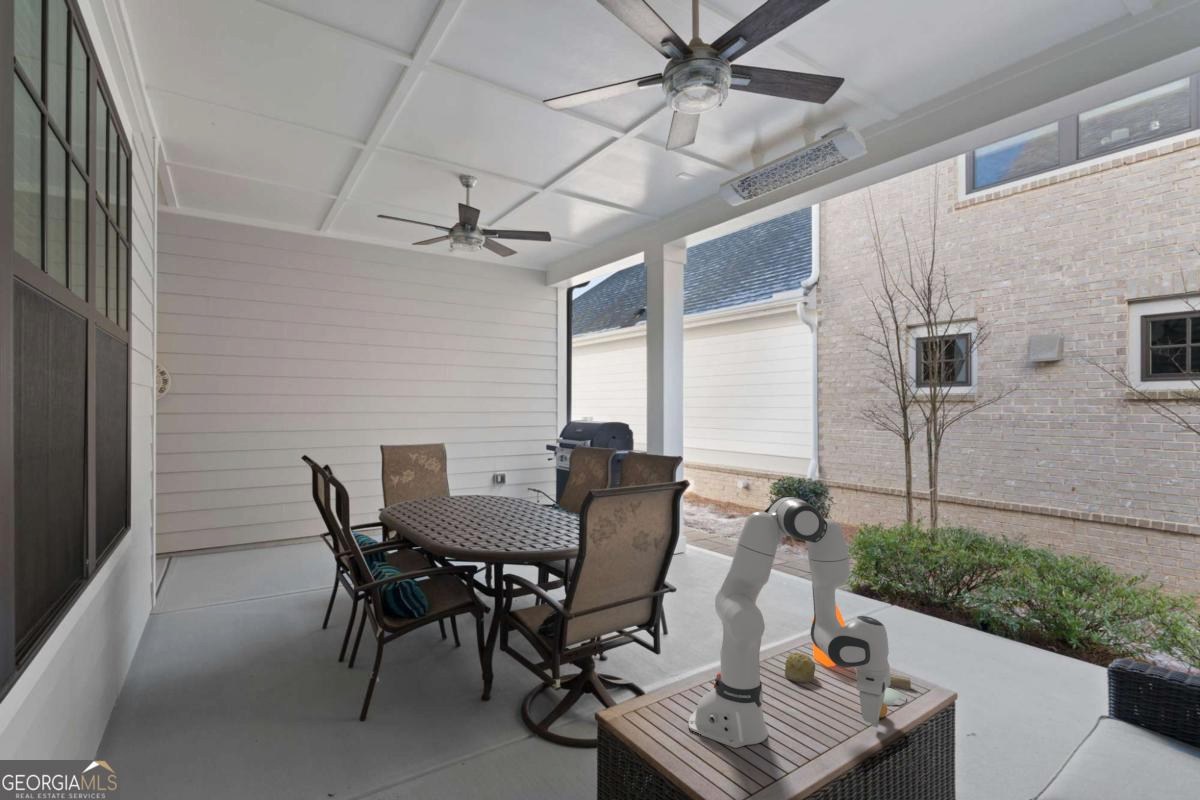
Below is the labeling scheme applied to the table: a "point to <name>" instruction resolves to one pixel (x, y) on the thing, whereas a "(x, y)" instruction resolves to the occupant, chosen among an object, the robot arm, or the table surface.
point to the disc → (891, 696)
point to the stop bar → (900, 681)
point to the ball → (883, 710)
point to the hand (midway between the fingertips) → (875, 724)
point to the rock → (799, 668)
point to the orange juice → (817, 652)
